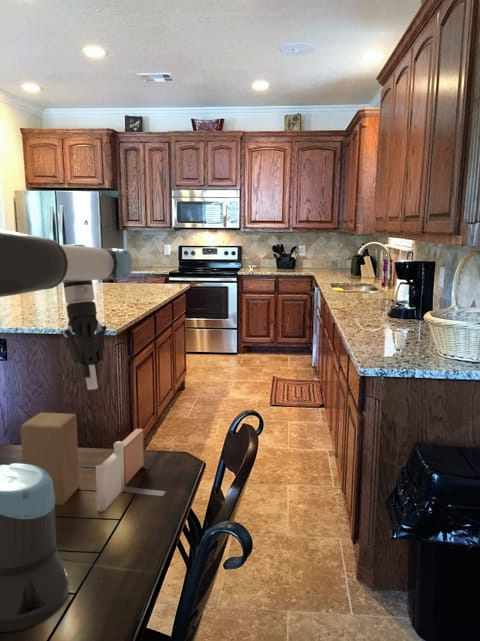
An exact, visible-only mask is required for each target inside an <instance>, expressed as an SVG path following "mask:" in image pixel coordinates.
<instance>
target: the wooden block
mask: <svg viewBox="0 0 480 641" xmlns="http://www.w3.org/2000/svg"><path fill="white" fill-rule="evenodd" d="M77 417H78V416H77V415H76V414H74V413H63V412H62V413H60V412H59V413H58V412H40V413H37V414H36V415H35V416H33V417H31V418H30V419H29V420H27V421H26V422H24V423H23V424H22V425H21V427H20V440H21V442H20V443H21V459H22V460H21V461H22V463H24V464H31V465H35V466H37V467H40V468H42V469H43V470H45V471H46V472H47V473H48V474H49V476H50V477H51V479H52V482H53V489H54V494H55V506H63V505H65V504H66V503H67V502H68V500H69V499H70V498H71V497H72V496H73V495H74V493H75V492H76V491H77V490H78V489H79V487H80V473H79V448H78V420H77Z"/></svg>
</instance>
